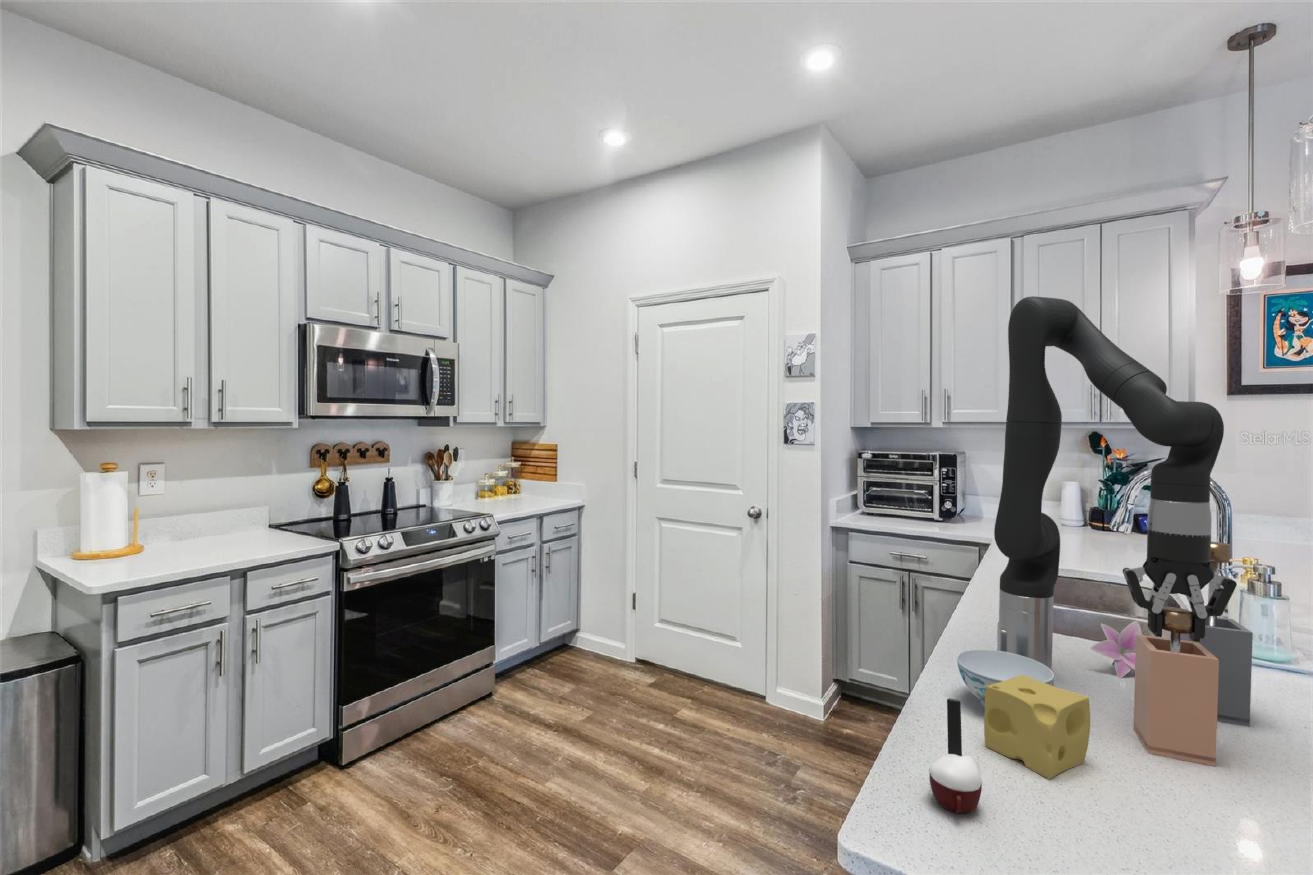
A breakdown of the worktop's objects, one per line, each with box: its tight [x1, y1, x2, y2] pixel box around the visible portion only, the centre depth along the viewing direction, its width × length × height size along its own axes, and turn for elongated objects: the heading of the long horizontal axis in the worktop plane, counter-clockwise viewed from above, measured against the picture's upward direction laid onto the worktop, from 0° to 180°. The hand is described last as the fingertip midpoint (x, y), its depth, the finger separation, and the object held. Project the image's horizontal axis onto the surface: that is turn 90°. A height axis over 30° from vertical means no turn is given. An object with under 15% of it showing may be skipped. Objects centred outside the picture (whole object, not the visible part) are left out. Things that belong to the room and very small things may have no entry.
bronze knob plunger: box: [1160, 605, 1193, 653], centre depth 94 cm, size 5×5×16 cm
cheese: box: [983, 675, 1091, 780], centre depth 92 cm, size 10×11×10 cm
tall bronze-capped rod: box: [1207, 541, 1231, 627], centre depth 106 cm, size 5×5×16 cm
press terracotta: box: [1133, 634, 1219, 767], centre depth 94 cm, size 8×8×16 cm
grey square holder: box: [1180, 616, 1253, 728], centre depth 106 cm, size 8×8×16 cm
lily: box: [1090, 620, 1143, 679], centre depth 123 cm, size 12×12×10 cm
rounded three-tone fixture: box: [928, 697, 983, 814], centre depth 80 cm, size 10×6×12 cm, turn 136°
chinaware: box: [956, 648, 1055, 709], centre depth 107 cm, size 15×15×8 cm
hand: (1175, 637), depth 94 cm, fingers closed on bronze knob plunger, 4 cm apart
